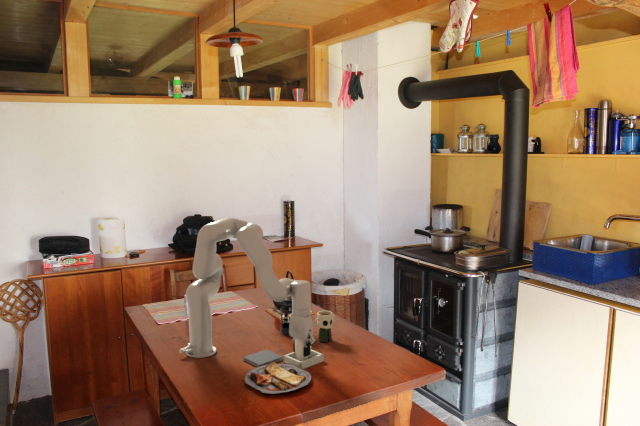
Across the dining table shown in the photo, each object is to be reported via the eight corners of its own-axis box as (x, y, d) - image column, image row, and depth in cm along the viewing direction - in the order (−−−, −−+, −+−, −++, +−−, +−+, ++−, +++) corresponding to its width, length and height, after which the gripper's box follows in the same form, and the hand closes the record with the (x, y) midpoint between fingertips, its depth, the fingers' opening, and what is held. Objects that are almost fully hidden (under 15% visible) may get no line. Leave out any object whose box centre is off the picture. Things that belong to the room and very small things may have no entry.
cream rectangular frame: (300, 370, 219) (300, 362, 219) (283, 362, 226) (283, 355, 226) (323, 361, 227) (323, 354, 227) (306, 354, 235) (306, 347, 235)
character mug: (318, 345, 245) (318, 317, 243) (310, 340, 251) (310, 312, 249) (339, 340, 250) (339, 313, 249) (330, 335, 256) (330, 308, 255)
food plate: (232, 380, 210) (232, 371, 209) (279, 363, 226) (279, 355, 225) (275, 404, 192) (275, 395, 192) (322, 384, 208) (322, 375, 208)
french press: (283, 337, 255) (283, 289, 251) (275, 331, 263) (275, 284, 260) (306, 333, 260) (306, 285, 257) (298, 327, 268) (297, 281, 265)
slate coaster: (259, 368, 221) (259, 364, 221) (243, 360, 229) (243, 357, 228) (282, 359, 229) (282, 356, 229) (266, 352, 237) (266, 349, 237)
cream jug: (301, 366, 222) (300, 338, 221) (292, 362, 226) (292, 334, 225) (314, 361, 228) (314, 333, 226) (305, 357, 232) (305, 329, 230)
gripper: (280, 308, 227) (281, 350, 229) (308, 318, 215) (309, 362, 217) (294, 304, 232) (294, 345, 234) (322, 313, 220) (322, 357, 222)
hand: (301, 353), depth 226 cm, fingers closed on cream jug, 5 cm apart
